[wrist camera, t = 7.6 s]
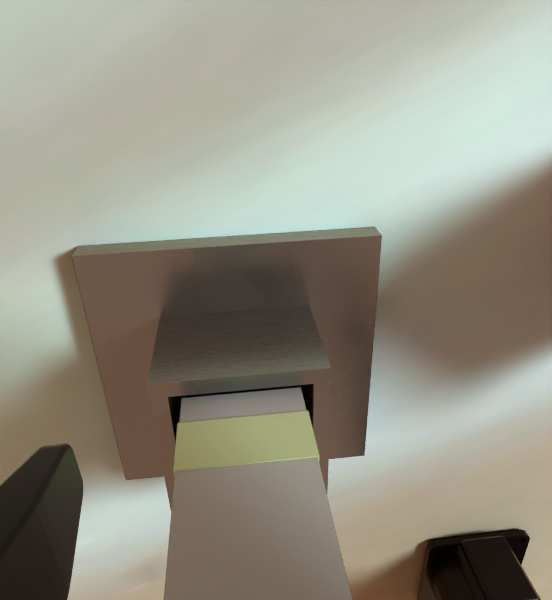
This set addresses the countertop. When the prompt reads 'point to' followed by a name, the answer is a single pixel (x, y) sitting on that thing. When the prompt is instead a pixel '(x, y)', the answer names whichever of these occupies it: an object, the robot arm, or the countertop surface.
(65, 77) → the countertop surface
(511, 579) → the robot arm
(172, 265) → the stand base
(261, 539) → the column
